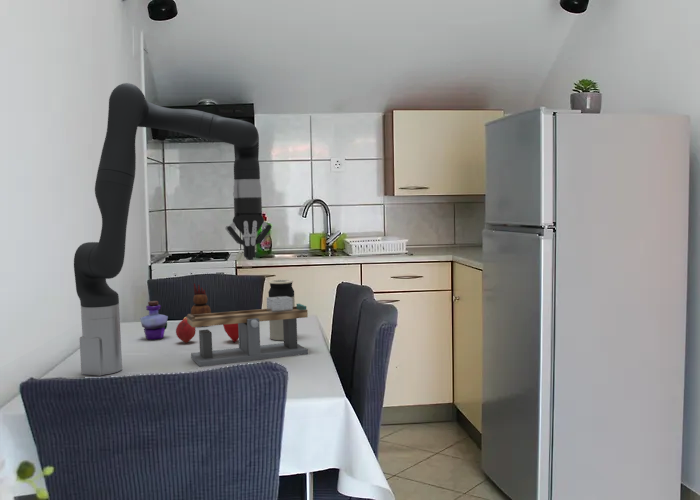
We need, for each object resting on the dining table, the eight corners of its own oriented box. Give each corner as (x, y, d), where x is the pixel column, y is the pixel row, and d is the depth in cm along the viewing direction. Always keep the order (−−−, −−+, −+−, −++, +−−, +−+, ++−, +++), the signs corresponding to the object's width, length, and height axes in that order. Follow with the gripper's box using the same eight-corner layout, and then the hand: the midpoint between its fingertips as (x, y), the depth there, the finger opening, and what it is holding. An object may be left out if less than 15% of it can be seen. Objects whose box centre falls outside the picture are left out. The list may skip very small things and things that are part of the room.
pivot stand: (200, 367, 175) (198, 325, 175) (190, 356, 188) (188, 317, 187) (309, 354, 187) (307, 315, 186) (292, 345, 200) (291, 308, 199)
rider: (272, 314, 187) (271, 299, 187) (267, 311, 192) (266, 297, 192) (292, 312, 190) (292, 298, 189) (287, 309, 194) (286, 296, 194)
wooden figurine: (188, 327, 234) (186, 284, 233) (197, 324, 239) (195, 282, 238) (206, 327, 232) (204, 284, 231) (214, 324, 238) (212, 282, 236)
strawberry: (232, 345, 202) (231, 312, 201) (219, 341, 208) (218, 309, 207) (249, 342, 206) (248, 309, 205) (236, 338, 211) (235, 307, 211)
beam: (192, 327, 177) (192, 315, 177) (187, 322, 184) (186, 311, 184) (307, 317, 190) (307, 306, 189) (298, 313, 197) (298, 303, 197)
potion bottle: (174, 337, 216) (173, 300, 215) (153, 342, 209) (151, 304, 208) (156, 335, 221) (154, 298, 220) (134, 339, 214) (133, 302, 213)
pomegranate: (190, 345, 204) (189, 318, 203) (173, 344, 205) (172, 318, 204) (199, 341, 209) (197, 315, 209) (181, 340, 211) (180, 315, 210)
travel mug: (272, 341, 206) (270, 283, 204) (268, 336, 213) (266, 280, 212) (297, 339, 208) (296, 281, 207) (293, 334, 215) (291, 278, 214)
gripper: (226, 196, 179) (229, 261, 180) (274, 195, 184) (276, 259, 185) (220, 197, 186) (222, 259, 187) (267, 196, 191) (268, 257, 192)
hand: (249, 259), depth 186 cm, fingers closed
